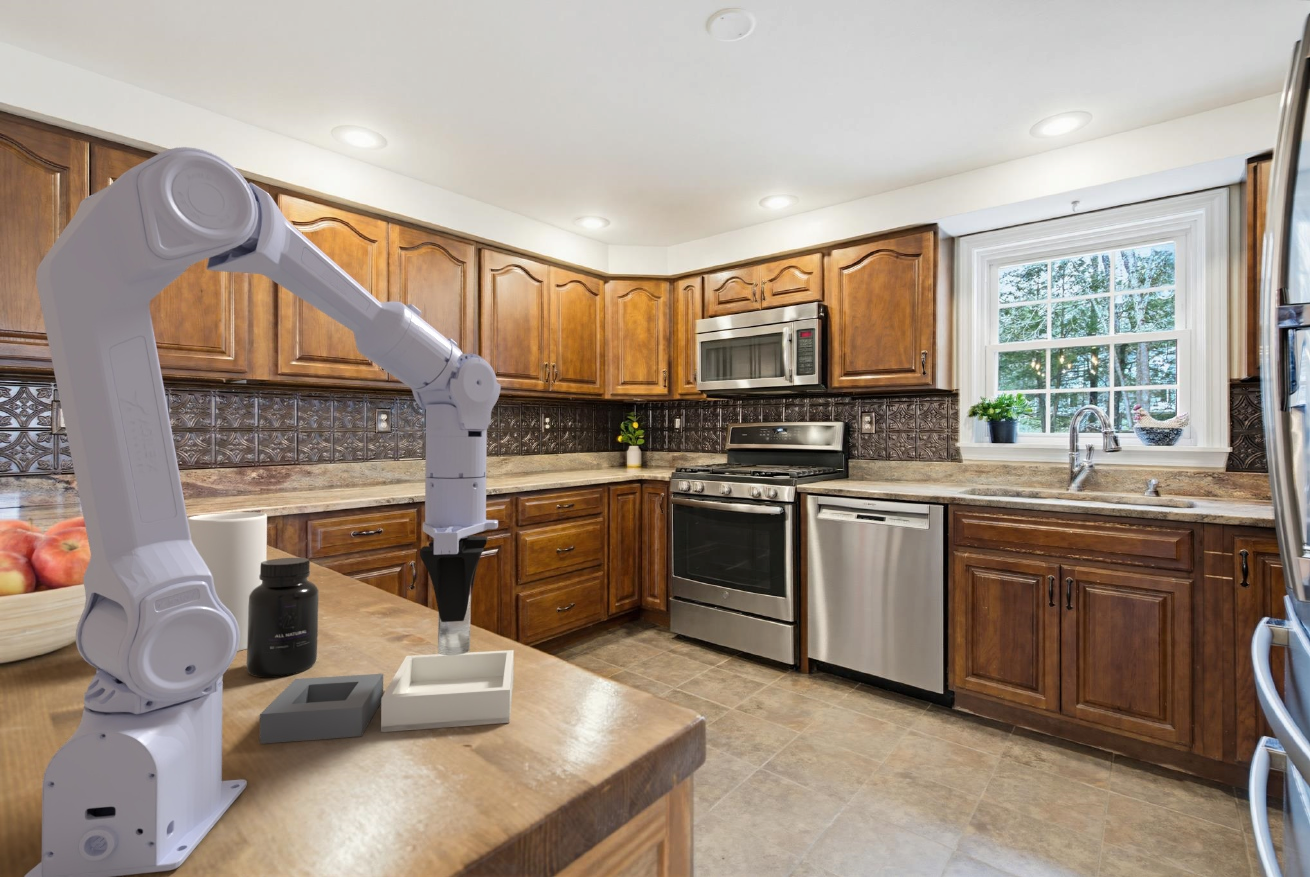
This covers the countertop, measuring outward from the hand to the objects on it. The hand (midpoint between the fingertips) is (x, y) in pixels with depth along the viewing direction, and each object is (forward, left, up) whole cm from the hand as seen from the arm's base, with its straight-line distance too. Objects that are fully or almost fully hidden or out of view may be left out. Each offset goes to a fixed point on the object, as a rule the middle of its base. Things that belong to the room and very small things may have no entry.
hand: (455, 615), depth 62 cm
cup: (+23, +30, -9) cm, 39 cm away
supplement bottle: (+13, +20, -9) cm, 25 cm away
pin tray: (0, 0, -8) cm, 8 cm away
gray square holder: (-2, +11, -8) cm, 14 cm away
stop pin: (0, 0, -3) cm, 3 cm away
